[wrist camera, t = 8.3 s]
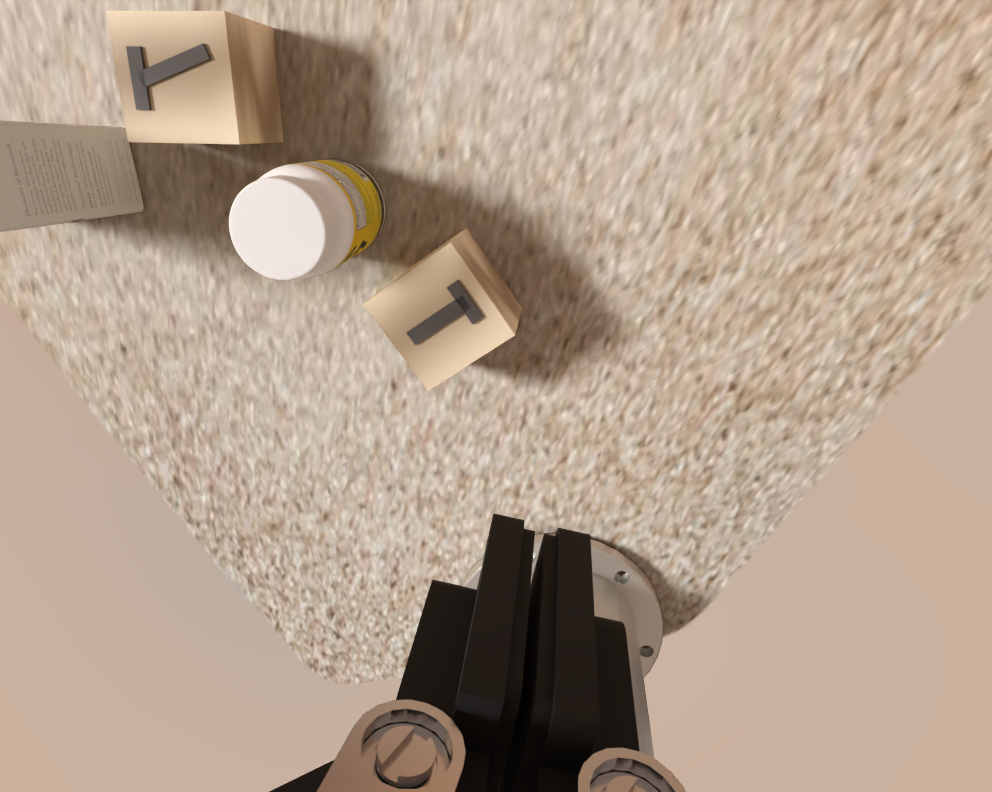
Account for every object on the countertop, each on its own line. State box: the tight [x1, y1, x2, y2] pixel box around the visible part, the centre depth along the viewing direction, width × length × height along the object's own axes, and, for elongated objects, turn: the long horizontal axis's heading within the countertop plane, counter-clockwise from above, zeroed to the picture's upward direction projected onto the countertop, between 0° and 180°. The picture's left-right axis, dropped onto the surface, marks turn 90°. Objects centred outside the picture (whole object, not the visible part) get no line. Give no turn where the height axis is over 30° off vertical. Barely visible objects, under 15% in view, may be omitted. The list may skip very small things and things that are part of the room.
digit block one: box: [363, 227, 522, 391], centre depth 33 cm, size 5×5×5 cm
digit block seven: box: [106, 11, 284, 144], centre depth 31 cm, size 5×5×5 cm
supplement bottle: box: [229, 159, 385, 280], centre depth 31 cm, size 5×5×8 cm
